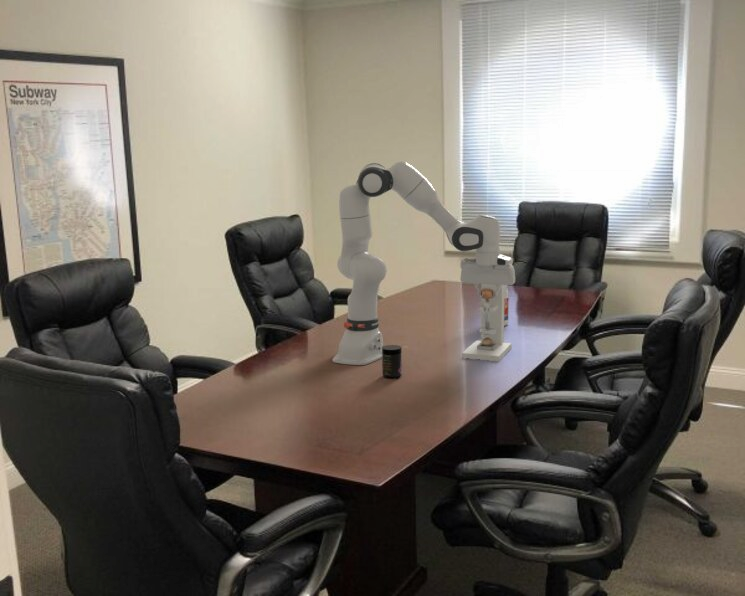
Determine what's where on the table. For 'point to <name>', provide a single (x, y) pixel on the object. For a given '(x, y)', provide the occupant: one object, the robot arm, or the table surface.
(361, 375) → the table surface
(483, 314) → the press frame
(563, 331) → the table surface
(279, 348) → the table surface
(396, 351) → the supplement container
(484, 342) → the walnut
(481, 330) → the plunger
